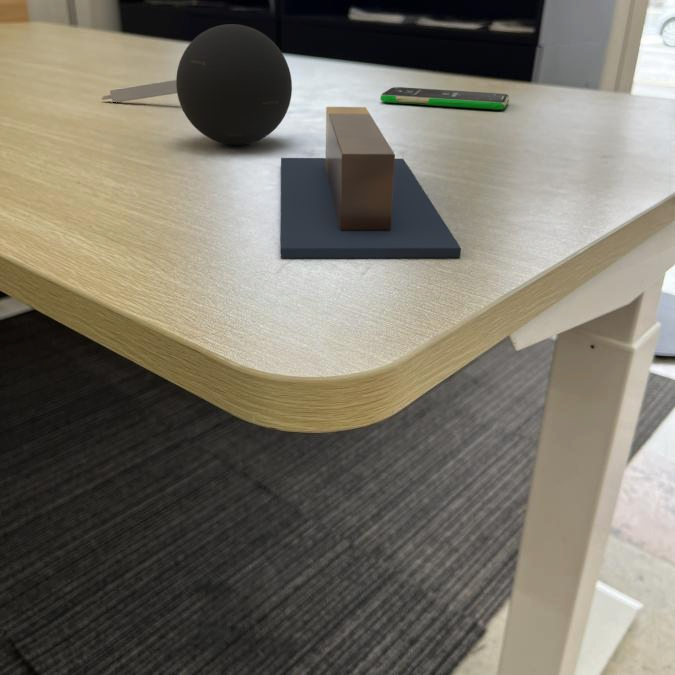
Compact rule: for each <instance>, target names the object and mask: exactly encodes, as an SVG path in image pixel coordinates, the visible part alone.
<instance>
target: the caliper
mask: <svg viewBox="0 0 675 675" xmlns="http://www.w3.org/2000/svg"><path fill="white" fill-rule="evenodd" d="M175 94H176V95H177V87H176V79H170V80H163V81H159V82H151V83H150V82H149V83H145V84H139V85H132V86H127V87H119V88H114V89H110V90H109V94H106V95H103V96H102V97H101V98H100V99H101V100H102V101H107V100H111V101H112V103H113V102H116V103H117V102H118V103H124V102H131V101H136V100H141V99H142V100H143V99H149V98H155V97H162V96H168V95H175ZM116 103H115V104H116Z"/></svg>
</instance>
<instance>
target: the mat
mask: <svg viewBox="0 0 675 675" xmlns="http://www.w3.org/2000/svg"><path fill="white" fill-rule="evenodd" d="M279 248H280V258H281V259H407V258H408V259H413V258H414V259H422V258H423V259H427V258H428V259H432V258H433V259H437V258H438V259H439V258H441V259H442V258H443V259H448V258H449V259H450V258H453V259H455V258H457V259H459V258H461V252H462V247H461V246H460V244H459V243H458V241H457V240H456V238H455V236H454V235H453V233H452V232H451V230H450V229H449V227H448V226H447V224H446V223H445V221H444V219H443V218H442V216H441V215H440V213H439V212H438V210H437V209H436V207H435V205H434V204H433V203H432V201H431V199H430V198H429V196H428V195H427V193H426V192H425V190H424V188H423V187H422V185H421V184H420V182H419V181H418V179H417V178H416V176H415V174H414V173H413V171H412V170H411V168H410V167H409V165H408V164H407V162H406V160H405V159H404V158H395V163H394V181H393V199H392V217H391V230H340V227H339V223H338V218H337V214H336V210H335V205H334V201H333V196H332V192H331V188H330V183H329V179H328V175H327V170H326V157H281V158H280V246H279Z"/></svg>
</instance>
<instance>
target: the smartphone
mask: <svg viewBox="0 0 675 675" xmlns="http://www.w3.org/2000/svg"><path fill="white" fill-rule="evenodd" d="M379 99H380V101H381V102H383V103H392V104H407V105H420V106H421V105H423V106H434V107H451V108H465V109H481V110H495V111H498V110H499V111H500V110H503V109H505V108H506V107H507V105H508V104H509V102H510V95H509V94H506V93H497V92H483V91H482V92H481V91H467V90H466V91H465V90H451V89H450V90H449V89H437V88H436V89H435V88H422V87H421V88H419V87H404V86H397V87H396V86H394V87H390V88H389V89H388V90H386V91H384V92H382V93H381V95H380V97H379Z"/></svg>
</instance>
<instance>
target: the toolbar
mask: <svg viewBox="0 0 675 675" xmlns="http://www.w3.org/2000/svg"><path fill="white" fill-rule="evenodd" d="M325 110H326V111H325V158H326V170H327V175H328V179H329V183H330V188H331V192H332V196H333V201H334V205H335V210H336V214H337V218H338V223H339V227H340V230H391V217H392V199H393V181H394V163H395V159H396V158H395V157H396V154H395V152H394V150H393V149H392V147H391V146H390V144H389V143H388V141H387V139H386V137H385V136H384V134H383V133H382V131H381V129H380V128H379V126H378V124H377V123H376V122H375V120H374V119H373V117H372V115H371V113H370V112H369V110H368V108H367V106H358V107H357V106H326V108H325Z"/></svg>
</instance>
